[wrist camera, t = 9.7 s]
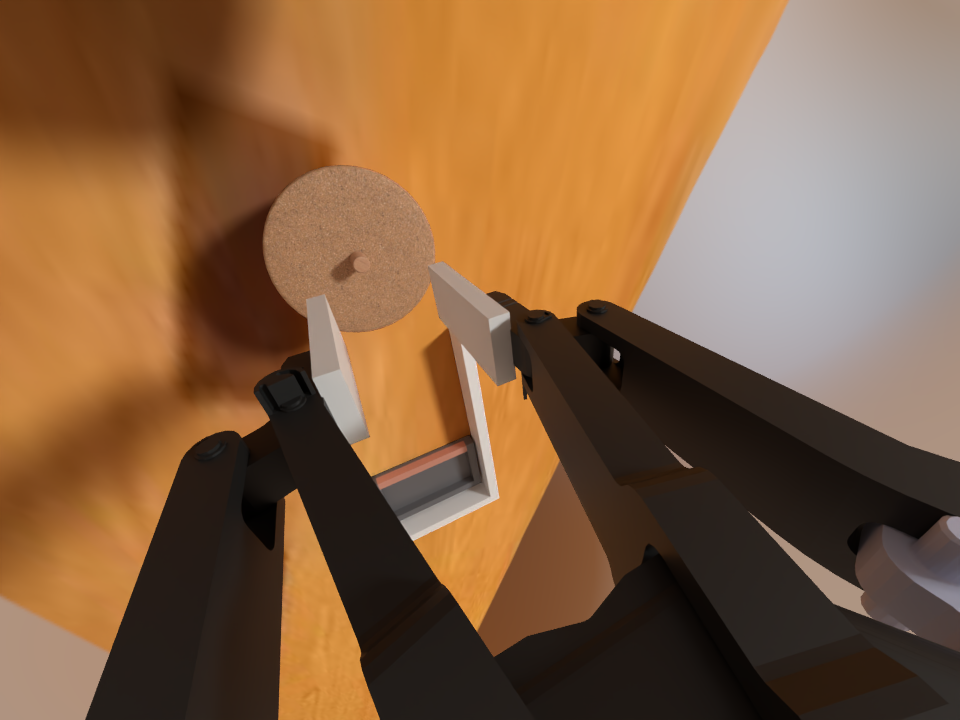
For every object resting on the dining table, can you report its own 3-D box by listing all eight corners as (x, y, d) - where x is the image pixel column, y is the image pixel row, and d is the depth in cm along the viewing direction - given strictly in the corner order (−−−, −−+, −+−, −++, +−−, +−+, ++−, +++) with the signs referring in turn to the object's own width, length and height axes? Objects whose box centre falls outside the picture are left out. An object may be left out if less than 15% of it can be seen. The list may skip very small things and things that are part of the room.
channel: (298, 377, 33) (298, 397, 30) (458, 323, 38) (471, 337, 35) (379, 531, 48) (384, 554, 45) (488, 479, 52) (499, 498, 50)
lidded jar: (373, 317, 34) (395, 363, 26) (245, 260, 27) (228, 301, 20) (430, 214, 31) (472, 234, 24) (306, 127, 25) (311, 118, 18)
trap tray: (367, 478, 43) (369, 488, 41) (468, 435, 46) (473, 442, 45) (385, 517, 47) (388, 526, 46) (477, 474, 51) (481, 482, 49)
